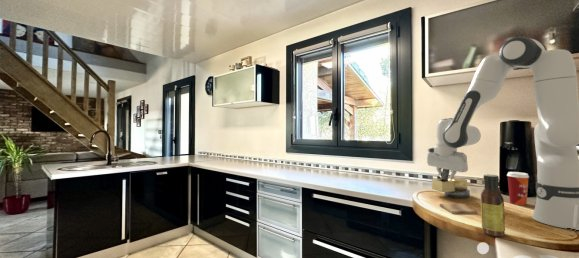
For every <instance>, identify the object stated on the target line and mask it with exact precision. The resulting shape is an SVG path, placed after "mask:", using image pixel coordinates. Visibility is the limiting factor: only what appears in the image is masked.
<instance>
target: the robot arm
mask: <svg viewBox="0 0 579 258" xmlns="http://www.w3.org/2000/svg"><path fill="white" fill-rule="evenodd" d="M526 69H531V71H532V75H533V86H534V87H533V88H534V89H533V91H534V104H535V108H536V114H537V119H538V122H537V124H536V125H535V127H534V131H533V136H534V145H535V156H536V169H537V170H536V171H537V173H536V176H537V177H536V179H537V181H536V182H535V192H536V198H535V204H534V205H535V206H534V210H533V213H532V215H531V217H532V219H533V220H534V221H537V222H538V223H541V224H546V225H548V226H551V227H557V228H562V229H567V228H572V229H577V230H579V154H578V148H577V146H578V145H579V88H578V73H577V72H578V71H577V67H576V63H575V59H574V57H573V54H572V53H571V52H570V51H569V50H567V49H564V48H563V49H562V48H559V49H557V48H556V49H549V50H547V46H545V44H544V43H541V42H540V41H538V40H537V39H533V38H531V37H527V36H517V37H516V36H515V37H513V38H510V39H507V41H505V42H504V43H503V44H502V46H501V47H500V49H499V52H498V53H495V54H488V55H486V56H484V57H483V58H482V60H481V62H480V63H479V65H478V67H477V68H476V69H475V72H474V75H473V77H472V80H471V83H470V85H469V87H468V89H467V92H465V94H464V96H463V98H462V100H461V101H460V104H459V106H458V108H457V110H456V111H455V114H454V115H453V116H454V117H449V118H442V119H439V121H438V122H437V127H436V138H437V140H436V141H437V142H436V144H435V145H436V146H432V147H429V148H428V149H427V152H428V153H427V157H426V160H427V162H426V163H427V165H428V166H430V167H433V168H434V167H435V168H436V171H437V173H438V177H441V176H442V171H443V169H448V170H450V174H449V177H448V178H449V179H454V178H455V176H456V174H457V172H458V173H467V171H468V170H469V165H468V156H467V154H466V153H464V152H462V151H461V152H459V151H458V149H459V148H462V147H465V146H466V147H468V146H472V145H475V144H477V143H478V142H479V141H480V140H481V138H482V137H481V136H482V134H481V131H480V130H479V128H478V127H476V126H473V125H470V122H471V120H472V118H473V117H474V115H475V112H476V111H477V109H479V108H480V107H481V106H482V105H484V104H485V103H488V102H490V101H491V100H494V99H495V98H496V97H497V96H498V94H499V93H500V91H501V89H502V87H503V85H504V82H505V80H506V77H507V76H508V74H509V73H510V72H511V71H512V70H513V71H519V70H526ZM572 229H571V230H572Z"/></svg>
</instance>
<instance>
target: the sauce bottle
mask: <svg viewBox="0 0 579 258" xmlns="http://www.w3.org/2000/svg"><path fill="white" fill-rule="evenodd" d="M499 179H500V177H499V175H496V174H489V173H488V174H483V180H484V186H483V187H484V188H483V190H482V191H481V193H480V211H481V212H480V216H481V230H482V232H483V233H484V234H486V235H488V236H491V237H492V236H493V237H504V236H505V233H506V221H505V220H506V216H505V199H504V197H503V195H502V192H501V190H500V187H499Z"/></svg>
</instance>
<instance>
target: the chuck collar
mask: <svg viewBox="0 0 579 258" xmlns="http://www.w3.org/2000/svg"><path fill="white" fill-rule="evenodd" d="M431 189H432V190H435V191H438V192H440V193H444V192H452V191H467V189H468V179H466V178H462V177H454V179H449V177H448V181H441V178H433V179H431Z"/></svg>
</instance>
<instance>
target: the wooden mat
mask: <svg viewBox="0 0 579 258" xmlns="http://www.w3.org/2000/svg"><path fill="white" fill-rule="evenodd" d="M439 207H440V208H442V209H444V210H445V211H447V212H449V213H450V214H453V215H457V214H458V215H460V214H462V215H463V214H465V215H466V214H471V215H472V214H477V215H478V211H477V210H476V209H474V208H473V207H470V206H468V205H466V204H464V203H439Z"/></svg>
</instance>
